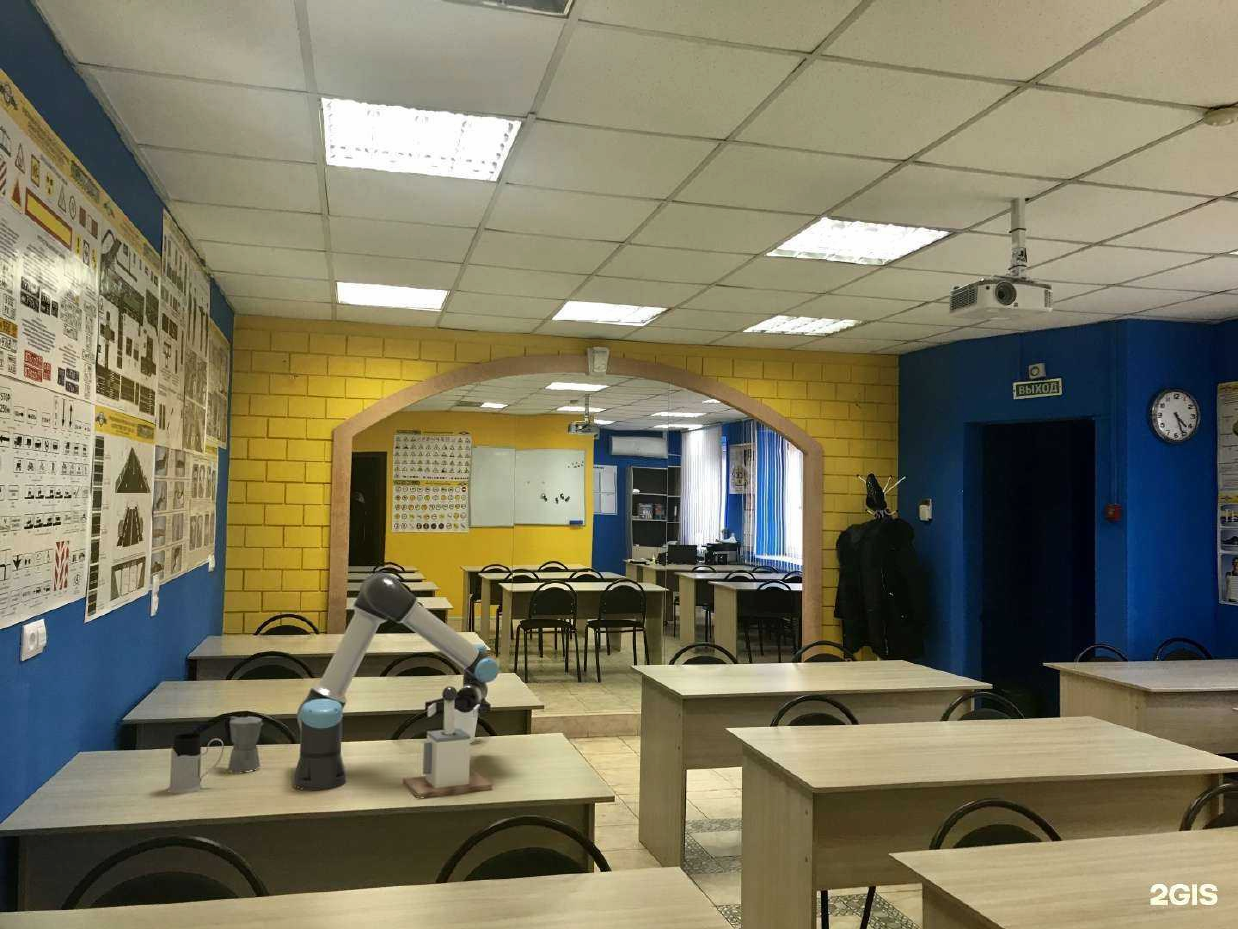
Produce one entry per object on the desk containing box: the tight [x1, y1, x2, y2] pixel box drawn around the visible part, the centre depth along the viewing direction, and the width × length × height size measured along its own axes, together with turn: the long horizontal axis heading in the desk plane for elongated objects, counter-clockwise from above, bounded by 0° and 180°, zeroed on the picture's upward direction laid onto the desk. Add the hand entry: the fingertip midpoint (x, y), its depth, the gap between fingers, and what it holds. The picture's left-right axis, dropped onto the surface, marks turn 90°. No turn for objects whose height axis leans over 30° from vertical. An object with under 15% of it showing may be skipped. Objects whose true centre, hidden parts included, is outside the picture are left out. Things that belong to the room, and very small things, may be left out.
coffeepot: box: [223, 710, 264, 773], centre depth 286 cm, size 15×9×18 cm, turn 67°
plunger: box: [441, 686, 458, 736], centre depth 272 cm, size 7×7×26 cm
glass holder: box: [167, 732, 225, 795], centre depth 266 cm, size 9×14×15 cm, turn 111°
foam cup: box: [454, 709, 479, 744], centre depth 325 cm, size 10×9×13 cm
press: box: [422, 728, 471, 788], centre depth 271 cm, size 12×10×14 cm
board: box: [402, 770, 493, 799], centre depth 272 cm, size 22×16×2 cm
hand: (451, 712), depth 274 cm, fingers open, 13 cm apart
